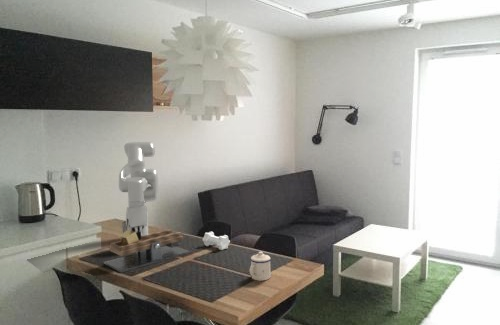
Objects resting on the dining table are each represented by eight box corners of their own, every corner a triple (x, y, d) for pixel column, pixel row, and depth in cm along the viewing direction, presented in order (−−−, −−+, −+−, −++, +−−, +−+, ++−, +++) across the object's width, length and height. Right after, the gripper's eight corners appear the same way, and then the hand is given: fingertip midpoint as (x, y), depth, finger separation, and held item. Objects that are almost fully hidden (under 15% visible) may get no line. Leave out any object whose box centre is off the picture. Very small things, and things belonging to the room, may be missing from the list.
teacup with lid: (259, 272, 189) (258, 247, 188) (275, 276, 183) (274, 251, 182) (242, 280, 179) (242, 254, 178) (258, 284, 174) (258, 258, 173)
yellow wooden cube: (122, 246, 203) (118, 236, 200) (131, 239, 207) (127, 229, 205) (130, 248, 199) (126, 237, 197) (139, 241, 203) (135, 231, 201)
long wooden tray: (171, 240, 227) (170, 228, 227) (183, 245, 219) (183, 232, 218) (110, 256, 202) (109, 243, 202) (121, 262, 194) (120, 248, 193)
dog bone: (230, 249, 226) (231, 234, 226) (219, 251, 220) (220, 236, 219) (212, 244, 236) (213, 230, 236) (201, 246, 230) (201, 232, 230)
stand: (103, 263, 204) (102, 244, 203) (171, 246, 232) (170, 228, 231) (121, 272, 190) (120, 252, 189) (190, 253, 218) (190, 235, 217)
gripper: (145, 201, 212) (147, 235, 214) (118, 205, 201) (120, 241, 203) (153, 202, 207) (154, 237, 208) (126, 207, 196) (127, 244, 198)
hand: (137, 239), depth 206 cm, fingers closed
